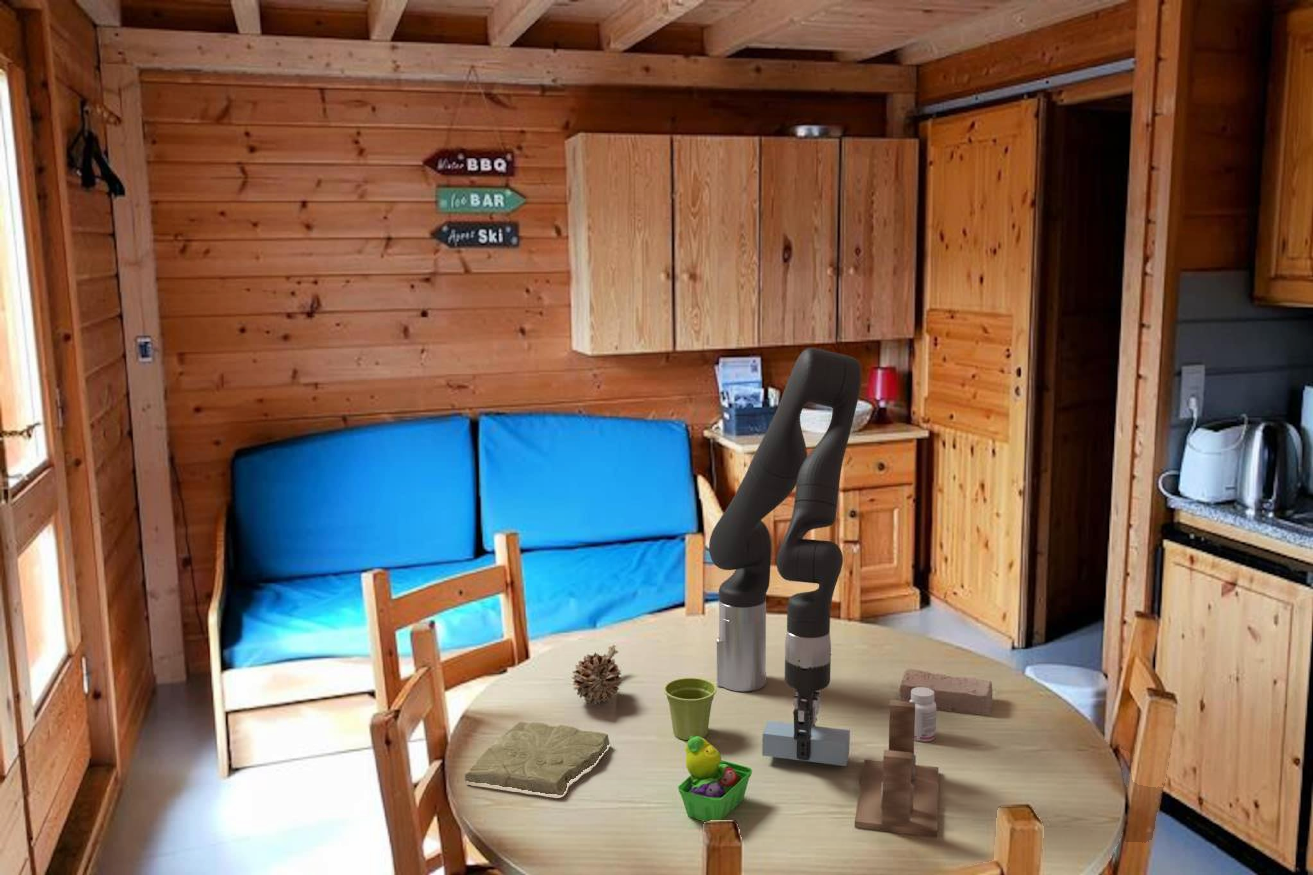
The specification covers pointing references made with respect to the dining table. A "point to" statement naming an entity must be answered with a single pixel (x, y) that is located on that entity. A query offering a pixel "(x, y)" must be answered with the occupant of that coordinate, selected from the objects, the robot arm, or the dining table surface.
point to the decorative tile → (538, 757)
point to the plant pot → (690, 706)
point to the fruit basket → (711, 782)
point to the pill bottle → (924, 713)
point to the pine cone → (597, 677)
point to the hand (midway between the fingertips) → (805, 750)
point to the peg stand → (899, 783)
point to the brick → (950, 691)
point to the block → (824, 743)
